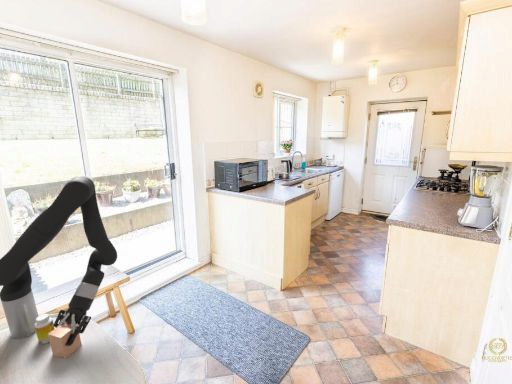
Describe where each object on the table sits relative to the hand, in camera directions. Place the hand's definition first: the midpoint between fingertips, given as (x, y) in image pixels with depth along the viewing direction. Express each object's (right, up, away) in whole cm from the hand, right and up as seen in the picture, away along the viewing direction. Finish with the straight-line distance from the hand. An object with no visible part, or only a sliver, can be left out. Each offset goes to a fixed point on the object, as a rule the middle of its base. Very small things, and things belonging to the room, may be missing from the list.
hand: (61, 343), depth 94 cm
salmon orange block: (+1, -4, +3) cm, 5 cm away
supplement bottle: (-11, -3, +8) cm, 14 cm away
